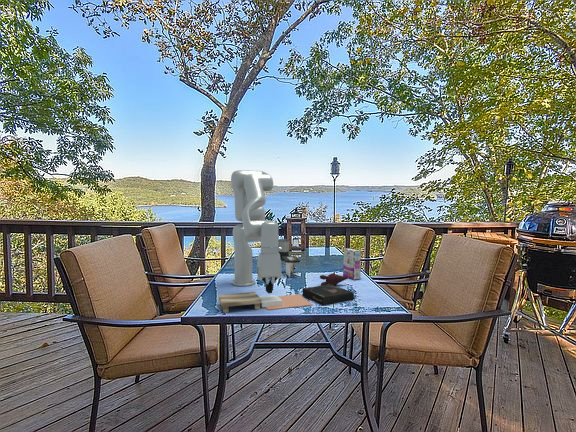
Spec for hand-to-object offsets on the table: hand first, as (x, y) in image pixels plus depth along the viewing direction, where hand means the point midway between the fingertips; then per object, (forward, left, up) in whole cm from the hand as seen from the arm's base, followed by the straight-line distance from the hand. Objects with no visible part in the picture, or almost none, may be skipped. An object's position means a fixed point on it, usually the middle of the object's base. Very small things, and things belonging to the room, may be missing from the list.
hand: (269, 292), depth 144 cm
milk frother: (-97, +34, -5) cm, 103 cm away
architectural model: (-48, +27, -6) cm, 56 cm away
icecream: (-19, +40, -5) cm, 45 cm away
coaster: (0, 0, -4) cm, 5 cm away
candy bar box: (-31, +58, -5) cm, 66 cm away
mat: (0, +7, -5) cm, 9 cm away
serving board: (0, -13, -5) cm, 14 cm away
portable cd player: (0, +28, -6) cm, 29 cm away
